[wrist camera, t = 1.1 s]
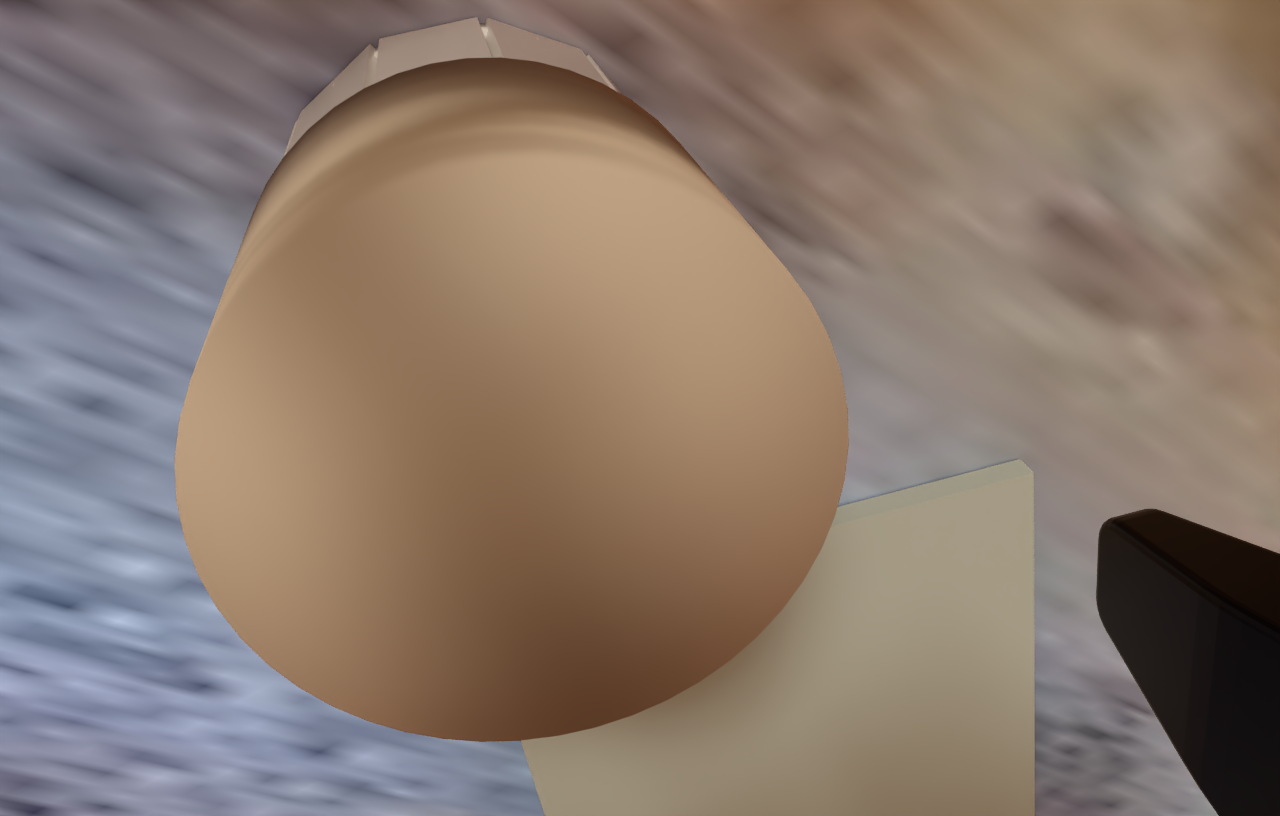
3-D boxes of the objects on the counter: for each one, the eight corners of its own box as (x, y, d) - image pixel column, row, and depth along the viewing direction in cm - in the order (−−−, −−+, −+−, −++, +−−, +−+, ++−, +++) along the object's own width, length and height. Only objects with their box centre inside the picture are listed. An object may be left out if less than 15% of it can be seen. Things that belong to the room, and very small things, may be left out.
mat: (1020, 458, 24) (1034, 472, 24) (1024, 828, 30) (1034, 846, 30) (479, 601, 23) (481, 619, 23) (592, 953, 29) (596, 974, 29)
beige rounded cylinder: (693, 5, 15) (815, 85, 10) (758, 451, 18) (872, 652, 14) (157, 124, 14) (49, 261, 10) (330, 560, 18) (308, 806, 13)
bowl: (627, -17, 18) (680, 23, 15) (689, 341, 21) (745, 443, 18) (223, 72, 18) (179, 136, 14) (350, 426, 21) (339, 547, 17)
